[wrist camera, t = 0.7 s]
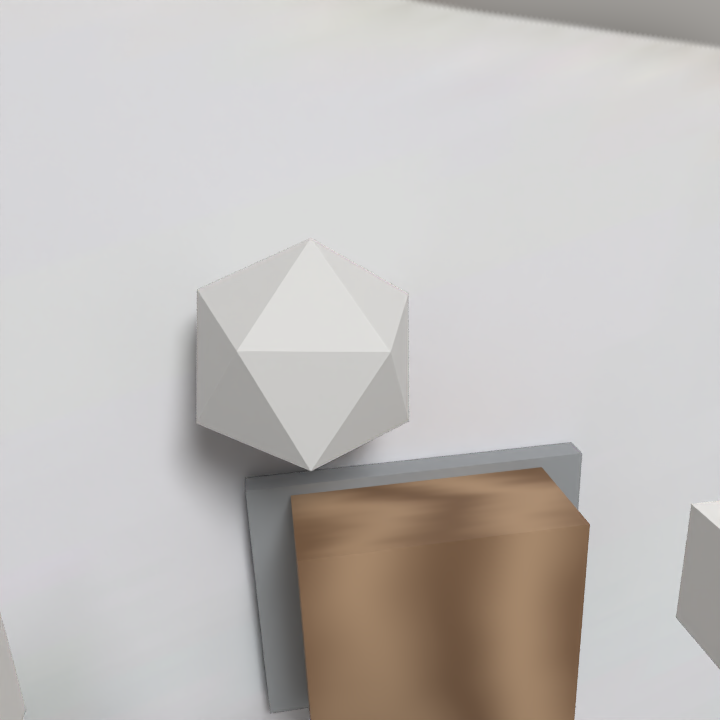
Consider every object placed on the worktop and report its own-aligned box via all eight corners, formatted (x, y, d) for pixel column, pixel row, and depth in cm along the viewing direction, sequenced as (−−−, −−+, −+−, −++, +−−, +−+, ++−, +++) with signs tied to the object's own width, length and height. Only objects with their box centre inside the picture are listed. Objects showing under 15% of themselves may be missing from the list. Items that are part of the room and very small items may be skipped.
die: (161, 276, 29) (140, 488, 24) (288, 150, 24) (298, 381, 19) (309, 342, 34) (319, 530, 29) (439, 249, 29) (480, 454, 24)
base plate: (269, 695, 36) (270, 713, 35) (245, 478, 32) (245, 490, 31) (557, 652, 38) (566, 668, 37) (571, 442, 34) (582, 453, 33)
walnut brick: (308, 700, 35) (316, 787, 31) (290, 495, 31) (297, 560, 27) (531, 666, 37) (572, 745, 32) (541, 467, 33) (589, 524, 28)
